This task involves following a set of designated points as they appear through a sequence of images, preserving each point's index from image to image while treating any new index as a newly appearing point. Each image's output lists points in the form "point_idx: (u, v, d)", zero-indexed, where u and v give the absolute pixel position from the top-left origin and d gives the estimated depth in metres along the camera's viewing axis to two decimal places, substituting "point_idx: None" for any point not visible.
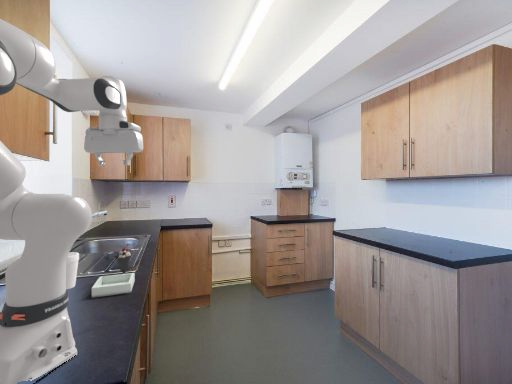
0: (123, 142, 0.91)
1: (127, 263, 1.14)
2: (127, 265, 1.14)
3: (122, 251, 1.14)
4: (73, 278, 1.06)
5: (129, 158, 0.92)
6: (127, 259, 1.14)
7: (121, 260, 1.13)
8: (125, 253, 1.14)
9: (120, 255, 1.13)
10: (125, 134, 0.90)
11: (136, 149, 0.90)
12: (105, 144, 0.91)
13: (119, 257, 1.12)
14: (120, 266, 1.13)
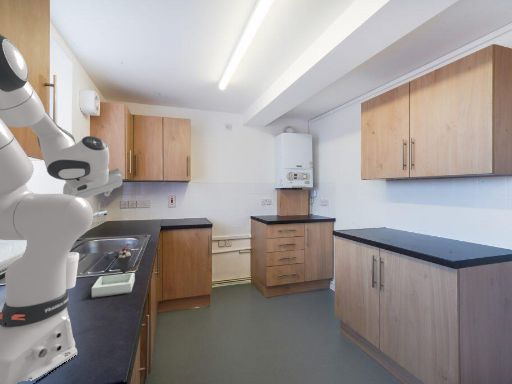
0: None
1: (127, 263, 1.14)
2: (127, 265, 1.14)
3: (122, 251, 1.14)
4: (73, 278, 1.06)
5: None
6: (127, 259, 1.14)
7: (121, 260, 1.13)
8: (125, 253, 1.14)
9: (120, 255, 1.13)
10: None
11: None
12: None
13: (119, 257, 1.12)
14: (120, 266, 1.13)
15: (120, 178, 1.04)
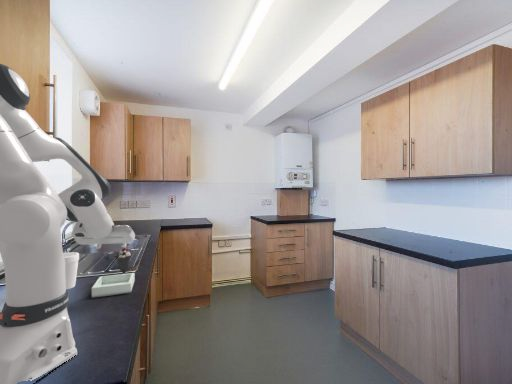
0: None
1: (127, 263, 1.14)
2: (127, 265, 1.14)
3: (122, 251, 1.14)
4: (73, 278, 1.06)
5: None
6: (127, 259, 1.14)
7: (121, 260, 1.13)
8: (125, 253, 1.14)
9: (120, 255, 1.13)
10: None
11: None
12: None
13: (119, 257, 1.12)
14: (120, 266, 1.13)
15: (126, 235, 0.98)
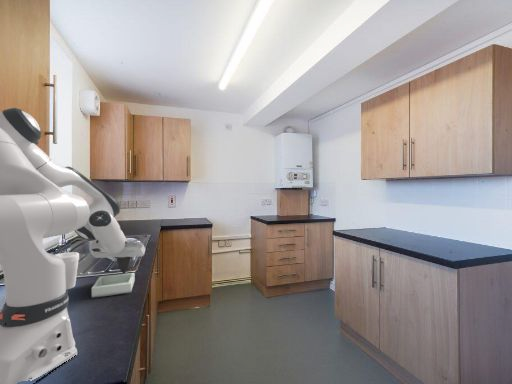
0: None
1: (127, 263, 1.14)
2: (127, 265, 1.14)
3: None
4: (73, 278, 1.06)
5: None
6: (127, 259, 1.14)
7: (121, 259, 1.13)
8: None
9: None
10: None
11: None
12: None
13: (119, 257, 1.13)
14: (120, 266, 1.13)
15: (137, 250, 1.08)
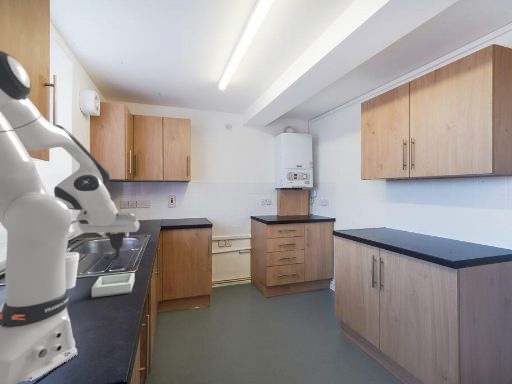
0: None
1: (120, 240, 1.03)
2: (120, 243, 1.03)
3: None
4: (73, 278, 1.06)
5: None
6: (120, 236, 1.02)
7: (112, 237, 1.01)
8: None
9: (112, 232, 1.02)
10: None
11: None
12: None
13: None
14: (113, 244, 1.02)
15: (130, 224, 0.96)
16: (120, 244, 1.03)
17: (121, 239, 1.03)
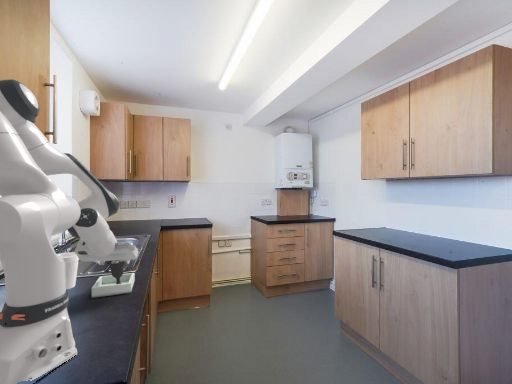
0: None
1: (121, 269, 1.03)
2: (121, 271, 1.04)
3: None
4: (73, 278, 1.06)
5: None
6: (121, 265, 1.03)
7: (113, 266, 1.02)
8: None
9: (113, 261, 1.02)
10: None
11: None
12: None
13: (112, 263, 1.02)
14: (113, 273, 1.02)
15: (129, 252, 0.97)
16: (121, 273, 1.03)
17: (122, 268, 1.04)
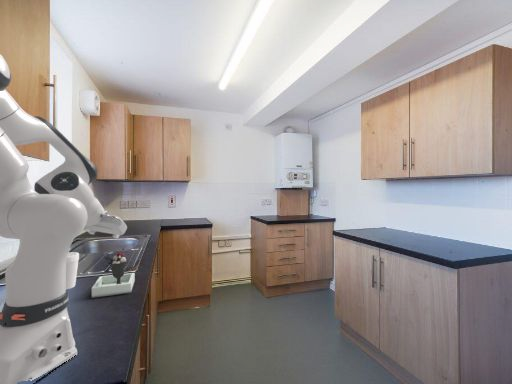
0: None
1: (122, 270, 1.03)
2: (122, 272, 1.04)
3: (116, 256, 1.03)
4: (73, 278, 1.06)
5: None
6: (122, 265, 1.03)
7: (115, 266, 1.02)
8: (120, 258, 1.03)
9: (114, 261, 1.02)
10: None
11: None
12: None
13: (113, 263, 1.02)
14: (114, 273, 1.02)
15: (114, 227, 0.89)
16: (121, 273, 1.03)
17: (123, 268, 1.04)
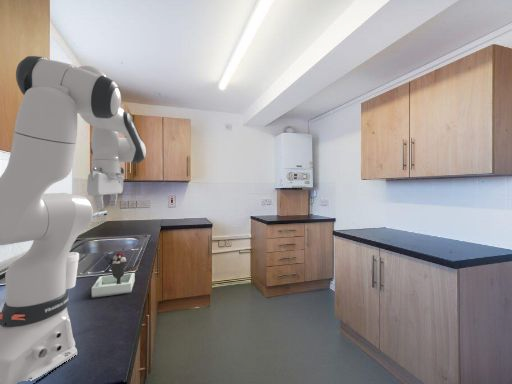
0: (117, 185, 1.00)
1: (122, 270, 1.03)
2: (122, 272, 1.04)
3: (116, 256, 1.03)
4: (73, 278, 1.06)
5: None
6: (122, 265, 1.03)
7: (115, 266, 1.02)
8: (120, 258, 1.03)
9: (114, 261, 1.02)
10: (118, 178, 1.00)
11: None
12: (109, 186, 0.93)
13: (113, 263, 1.02)
14: (114, 273, 1.02)
15: None
16: (121, 273, 1.03)
17: (123, 268, 1.04)
